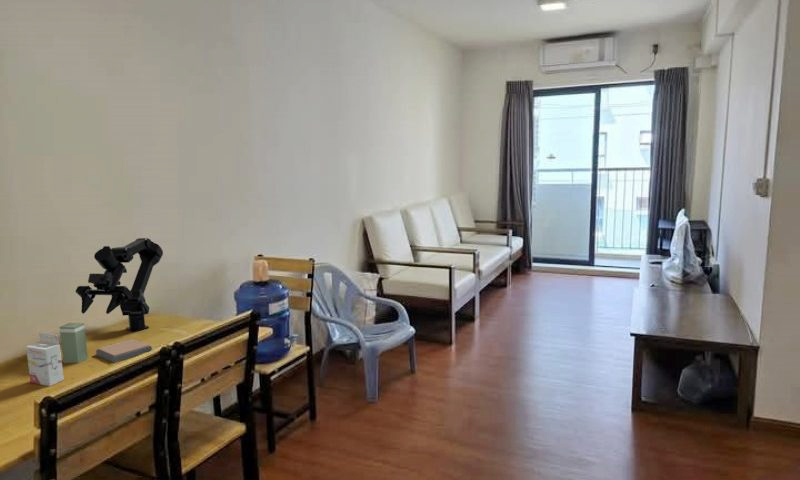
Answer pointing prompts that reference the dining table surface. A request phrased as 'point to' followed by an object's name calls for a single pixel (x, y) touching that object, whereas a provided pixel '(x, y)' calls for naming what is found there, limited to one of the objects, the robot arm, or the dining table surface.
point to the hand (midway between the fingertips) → (94, 313)
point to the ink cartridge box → (45, 361)
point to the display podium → (123, 350)
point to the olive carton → (73, 342)
